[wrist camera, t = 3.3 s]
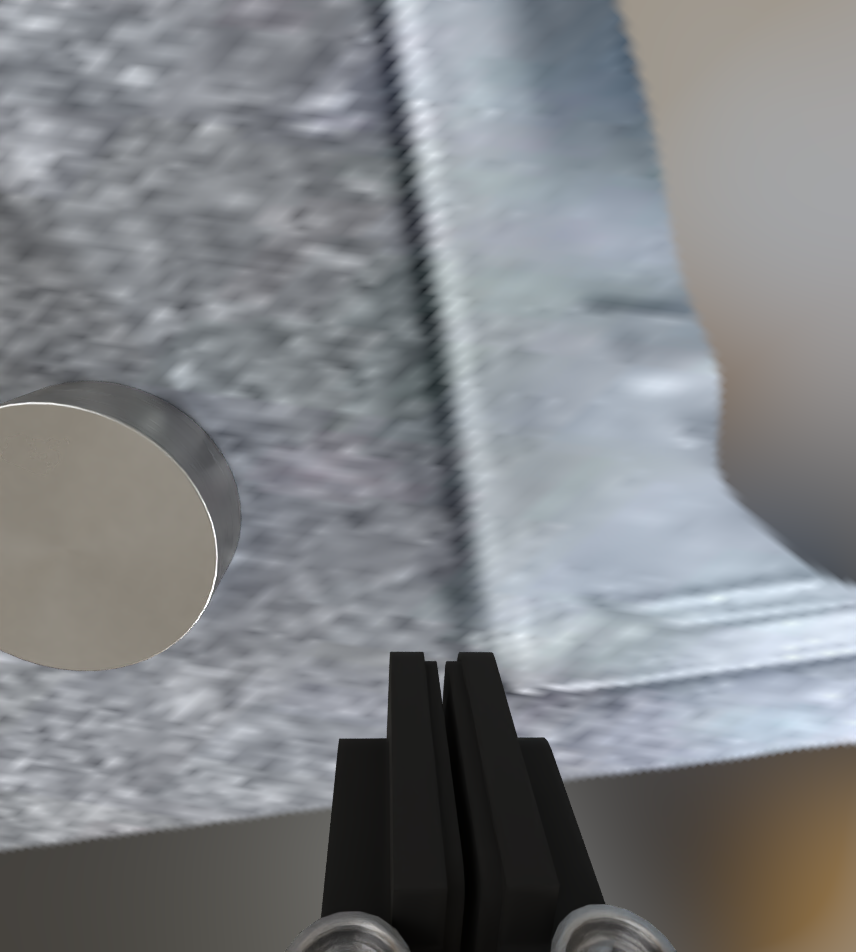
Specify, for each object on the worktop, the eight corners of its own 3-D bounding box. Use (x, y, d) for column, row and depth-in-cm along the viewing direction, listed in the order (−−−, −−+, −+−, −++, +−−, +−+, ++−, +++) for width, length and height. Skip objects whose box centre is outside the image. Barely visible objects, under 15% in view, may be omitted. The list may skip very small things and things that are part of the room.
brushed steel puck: (45, 324, 15) (-20, 335, 13) (289, 477, 17) (272, 512, 14) (-67, 537, 17) (-143, 582, 14) (165, 657, 18) (132, 715, 16)
